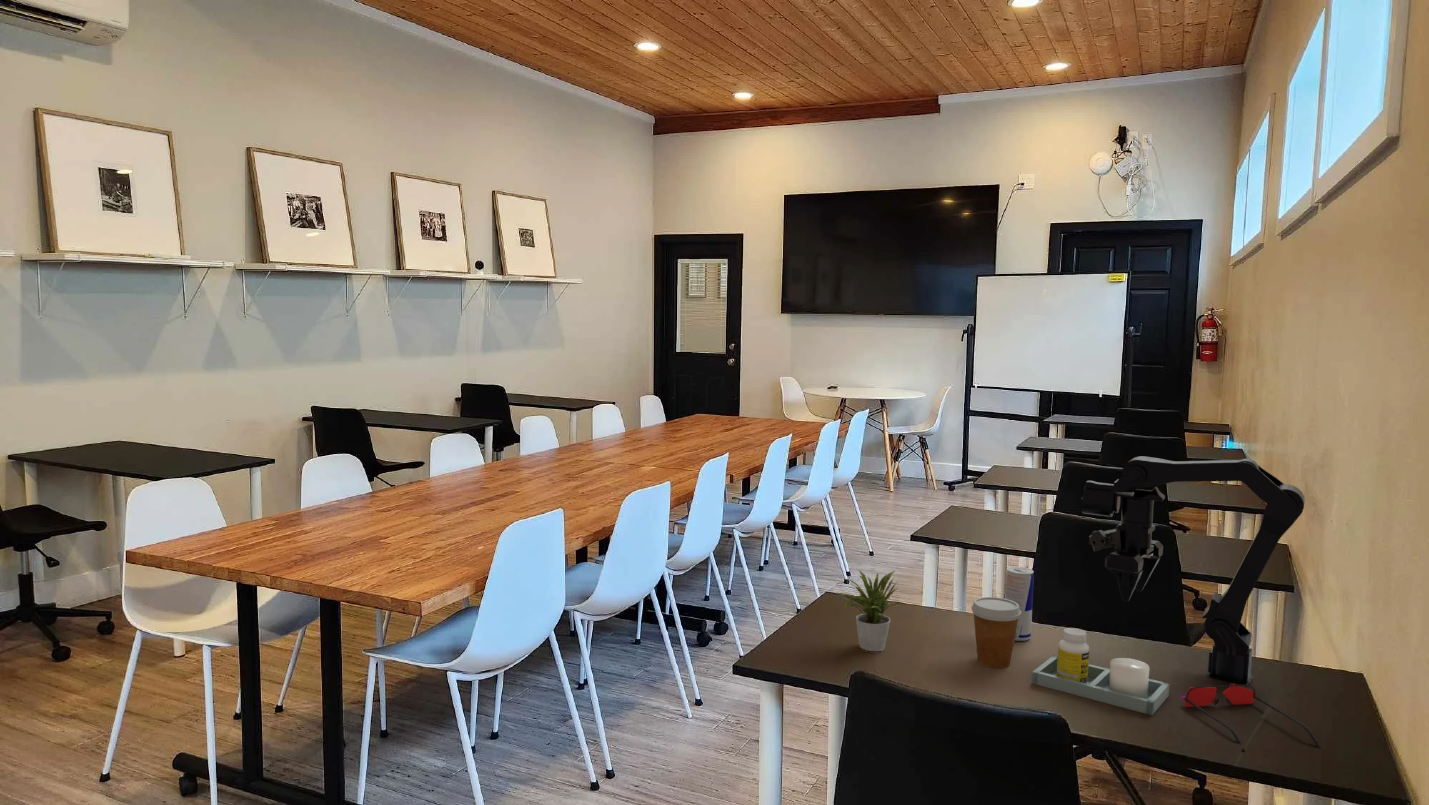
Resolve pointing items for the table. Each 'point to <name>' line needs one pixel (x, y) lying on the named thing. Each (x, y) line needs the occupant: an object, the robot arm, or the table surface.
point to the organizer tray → (1100, 687)
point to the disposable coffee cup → (995, 630)
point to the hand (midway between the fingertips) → (1132, 596)
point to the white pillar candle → (1129, 677)
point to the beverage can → (1021, 598)
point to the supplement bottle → (1073, 655)
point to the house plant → (872, 612)
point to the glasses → (1236, 696)
